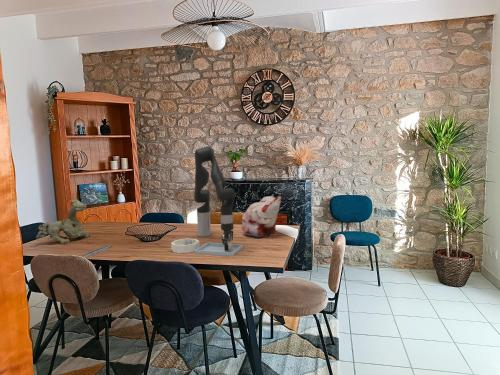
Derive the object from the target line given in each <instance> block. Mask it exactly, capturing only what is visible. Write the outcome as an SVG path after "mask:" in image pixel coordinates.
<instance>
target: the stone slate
mask: <svg viewBox="0 0 500 375" xmlns="http://www.w3.org/2000/svg"><path fill="white" fill-rule="evenodd" d="M187 239H188V240H185V245H189V244H192V240H190V239H191V238H187Z"/></svg>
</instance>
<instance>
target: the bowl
mask: <svg viewBox="0 0 500 375" xmlns="http://www.w3.org/2000/svg"><path fill="white" fill-rule="evenodd" d="M188 239H190V240H192V244H189V245H185V240H188ZM170 244H171V247H170V248H171V251H172V253H173V254H175V253H177V254H188V253H195V250H196V249H198V248H200V247H201V246H200V240H198V239H196V238H181V239H176V240H174V241H172V242H171V243H170Z"/></svg>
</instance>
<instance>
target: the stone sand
mask: <svg viewBox="0 0 500 375" xmlns="http://www.w3.org/2000/svg"><path fill="white" fill-rule="evenodd" d="M232 244H233V243H232V242H231V241H228V251H230V250H232ZM224 250H225V247H224Z"/></svg>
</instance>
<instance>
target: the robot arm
mask: <svg viewBox="0 0 500 375" xmlns="http://www.w3.org/2000/svg"><path fill="white" fill-rule="evenodd" d="M194 162H195V163H194V164H195V169H194V170H195V172H194V174H195V175H194V183H195V184H194V192H193V194H194V195H193V196H194V197H193V199H194V201H195V203H197V204H202V203H203V205H201V206H199V207H197V208H196V218H197V219H196V221H197V222H196V223H197V236H198V237H202V238H204V237H209V236H212V232H211V229H212V228H211V209H210V208H211V207H210V206H211V205H210V204H211V202H210V200H211V199H210V195H211V194H210V191H209V189H204V188H205V187H206V186H207V185H208V183H209V180H210V178H211V181H212V183H213V185H214V187H215V192H216V197H217V199H218V200H219V201H220V202H224V203H223V204H221V205H220V229H221V231H223V234H222V235H221V243H223V244H224V247H225V251H228V241H231V243H232V242H233V238H234V215H233V214H234V212H233V206H234V202H235V198H236V193H235V190H234V189H233V188H231V187H229V188H225V187H226V185H227V182H226V180H225V178H224V176H223V174H222V172H221V169H220V166H219V164H218V160H217V159H216V156H215V152H214V150H213V149H212V148H211V146H204V147H200V148H197V149H195V150H194ZM207 162H210V163H211V170H210V173H209V171H208V169H207V168H206V167H205V166H203V163H207Z"/></svg>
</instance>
